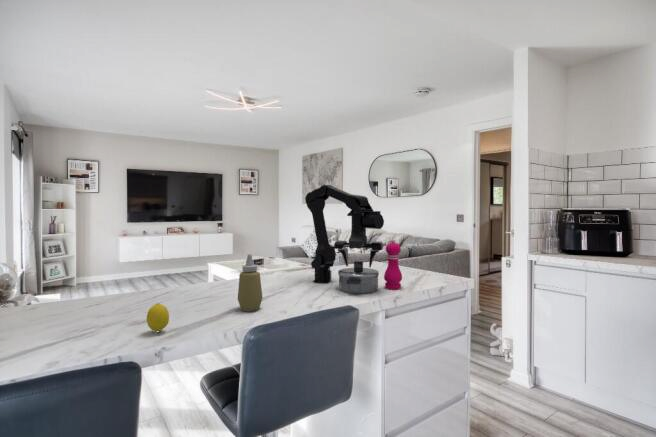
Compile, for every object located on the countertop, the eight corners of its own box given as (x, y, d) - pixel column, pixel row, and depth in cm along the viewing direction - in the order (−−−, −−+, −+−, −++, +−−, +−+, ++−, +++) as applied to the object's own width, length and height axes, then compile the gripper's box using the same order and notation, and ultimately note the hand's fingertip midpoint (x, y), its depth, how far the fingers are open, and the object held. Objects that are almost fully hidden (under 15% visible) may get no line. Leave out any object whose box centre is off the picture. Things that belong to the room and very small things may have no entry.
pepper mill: (401, 286, 155) (401, 237, 154) (402, 290, 148) (403, 239, 147) (383, 285, 156) (383, 237, 155) (384, 289, 149) (384, 239, 148)
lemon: (151, 329, 104) (150, 300, 104) (172, 328, 105) (171, 300, 104) (143, 336, 99) (142, 306, 98) (165, 335, 99) (164, 305, 99)
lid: (333, 279, 144) (333, 263, 143) (343, 272, 159) (343, 257, 159) (375, 282, 139) (375, 265, 139) (381, 274, 155) (381, 259, 154)
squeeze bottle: (267, 306, 125) (266, 253, 124) (254, 313, 118) (254, 257, 117) (246, 304, 128) (245, 252, 127) (232, 311, 120) (231, 255, 119)
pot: (333, 294, 142) (333, 278, 141) (346, 282, 162) (346, 268, 161) (373, 297, 137) (373, 281, 137) (380, 284, 158) (381, 270, 157)
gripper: (330, 228, 143) (330, 269, 144) (379, 230, 138) (379, 271, 139) (337, 226, 154) (337, 264, 155) (383, 227, 149) (383, 266, 150)
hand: (358, 266), depth 149 cm, fingers open, 9 cm apart
